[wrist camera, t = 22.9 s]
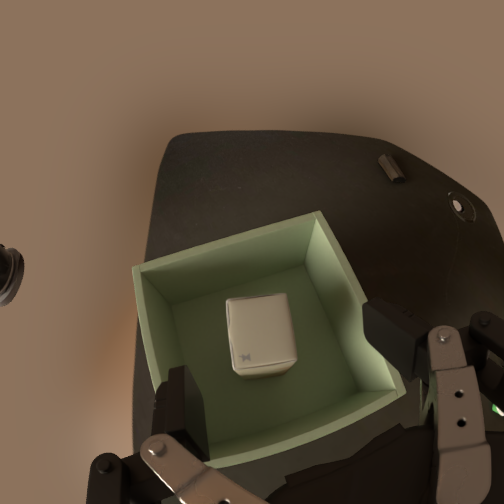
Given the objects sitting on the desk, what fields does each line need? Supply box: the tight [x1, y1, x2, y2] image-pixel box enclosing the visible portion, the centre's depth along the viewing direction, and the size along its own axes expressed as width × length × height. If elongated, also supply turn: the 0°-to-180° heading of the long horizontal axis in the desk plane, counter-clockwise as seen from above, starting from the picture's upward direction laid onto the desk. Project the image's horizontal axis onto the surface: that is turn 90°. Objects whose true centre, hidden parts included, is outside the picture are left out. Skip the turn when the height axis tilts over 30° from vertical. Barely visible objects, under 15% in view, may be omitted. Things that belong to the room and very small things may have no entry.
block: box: [378, 154, 406, 183], centre depth 39 cm, size 4×6×2 cm, turn 9°
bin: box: [132, 211, 406, 469], centre depth 23 cm, size 18×18×10 cm
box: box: [226, 293, 298, 380], centre depth 22 cm, size 5×4×11 cm
